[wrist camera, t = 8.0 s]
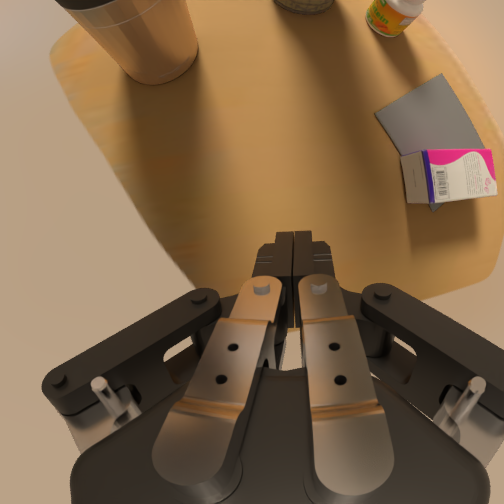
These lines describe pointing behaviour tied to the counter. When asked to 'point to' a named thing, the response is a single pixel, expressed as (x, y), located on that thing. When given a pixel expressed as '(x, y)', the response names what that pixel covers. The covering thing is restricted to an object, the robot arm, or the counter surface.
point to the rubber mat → (429, 121)
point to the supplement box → (448, 175)
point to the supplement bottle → (393, 15)
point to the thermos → (305, 6)
